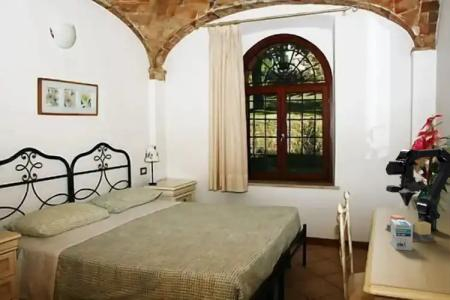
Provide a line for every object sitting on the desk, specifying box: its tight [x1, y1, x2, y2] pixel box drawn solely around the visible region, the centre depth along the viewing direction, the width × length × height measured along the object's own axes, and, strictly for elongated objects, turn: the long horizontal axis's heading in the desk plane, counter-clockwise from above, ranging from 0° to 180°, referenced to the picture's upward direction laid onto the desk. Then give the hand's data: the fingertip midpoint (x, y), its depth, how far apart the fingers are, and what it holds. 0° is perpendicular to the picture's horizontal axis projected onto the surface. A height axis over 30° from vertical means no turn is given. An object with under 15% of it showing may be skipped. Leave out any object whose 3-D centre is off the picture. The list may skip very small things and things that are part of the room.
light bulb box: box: [390, 219, 413, 251], centre depth 164 cm, size 11×7×11 cm, turn 168°
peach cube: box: [389, 214, 406, 225], centre depth 188 cm, size 5×5×5 cm
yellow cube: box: [414, 221, 432, 235], centre depth 175 cm, size 5×5×5 cm
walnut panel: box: [385, 224, 435, 243], centre depth 182 cm, size 12×21×3 cm, turn 3°
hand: (406, 206), depth 190 cm, fingers closed
